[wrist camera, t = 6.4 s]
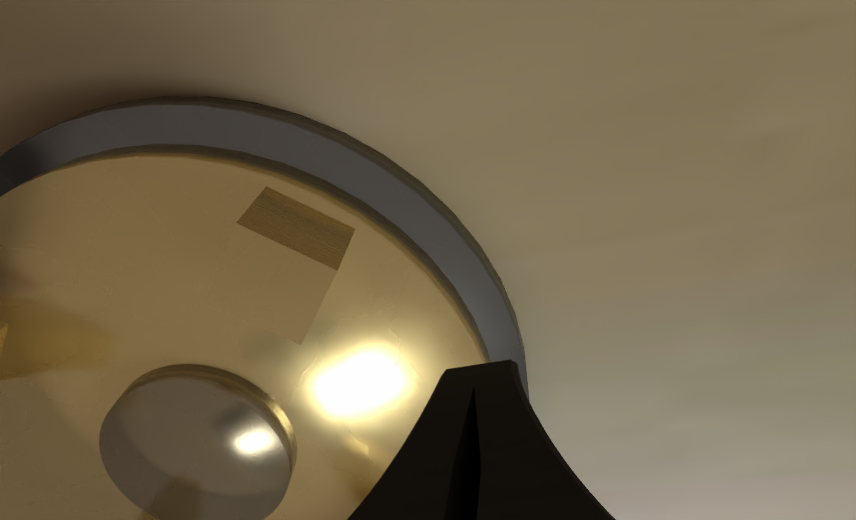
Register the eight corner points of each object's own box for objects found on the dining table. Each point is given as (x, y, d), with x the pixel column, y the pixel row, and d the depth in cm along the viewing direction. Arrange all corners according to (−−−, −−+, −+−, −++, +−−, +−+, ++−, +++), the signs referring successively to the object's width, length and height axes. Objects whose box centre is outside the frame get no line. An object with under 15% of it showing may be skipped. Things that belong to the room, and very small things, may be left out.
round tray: (384, 53, 18) (359, 84, 14) (560, 558, 25) (572, 659, 22) (-177, 243, 22) (-304, 304, 18) (120, 632, 29) (71, 728, 26)
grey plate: (656, 329, 22) (666, 354, 21) (341, 651, 31) (335, 683, 30) (57, -55, 19) (25, -53, 17) (-115, 433, 27) (-144, 459, 26)
